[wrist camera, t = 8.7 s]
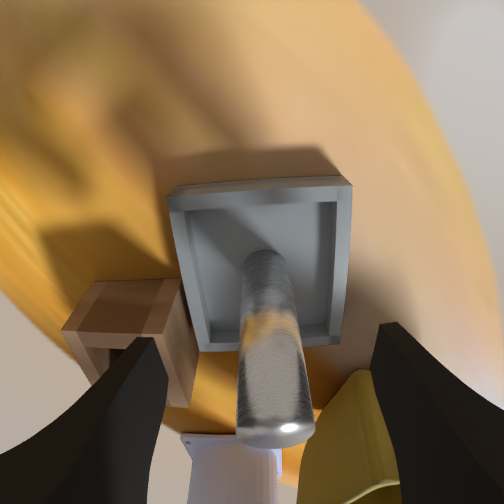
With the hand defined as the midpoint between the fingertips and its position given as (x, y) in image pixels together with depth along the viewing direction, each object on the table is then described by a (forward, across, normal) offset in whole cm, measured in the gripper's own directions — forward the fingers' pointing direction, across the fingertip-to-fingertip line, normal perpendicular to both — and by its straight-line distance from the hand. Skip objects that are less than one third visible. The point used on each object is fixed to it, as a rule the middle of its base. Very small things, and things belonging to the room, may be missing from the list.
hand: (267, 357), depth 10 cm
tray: (+6, 0, 0) cm, 6 cm away
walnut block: (+6, +6, +3) cm, 9 cm away
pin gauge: (+5, 0, 0) cm, 5 cm away
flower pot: (+6, -6, +11) cm, 14 cm away
